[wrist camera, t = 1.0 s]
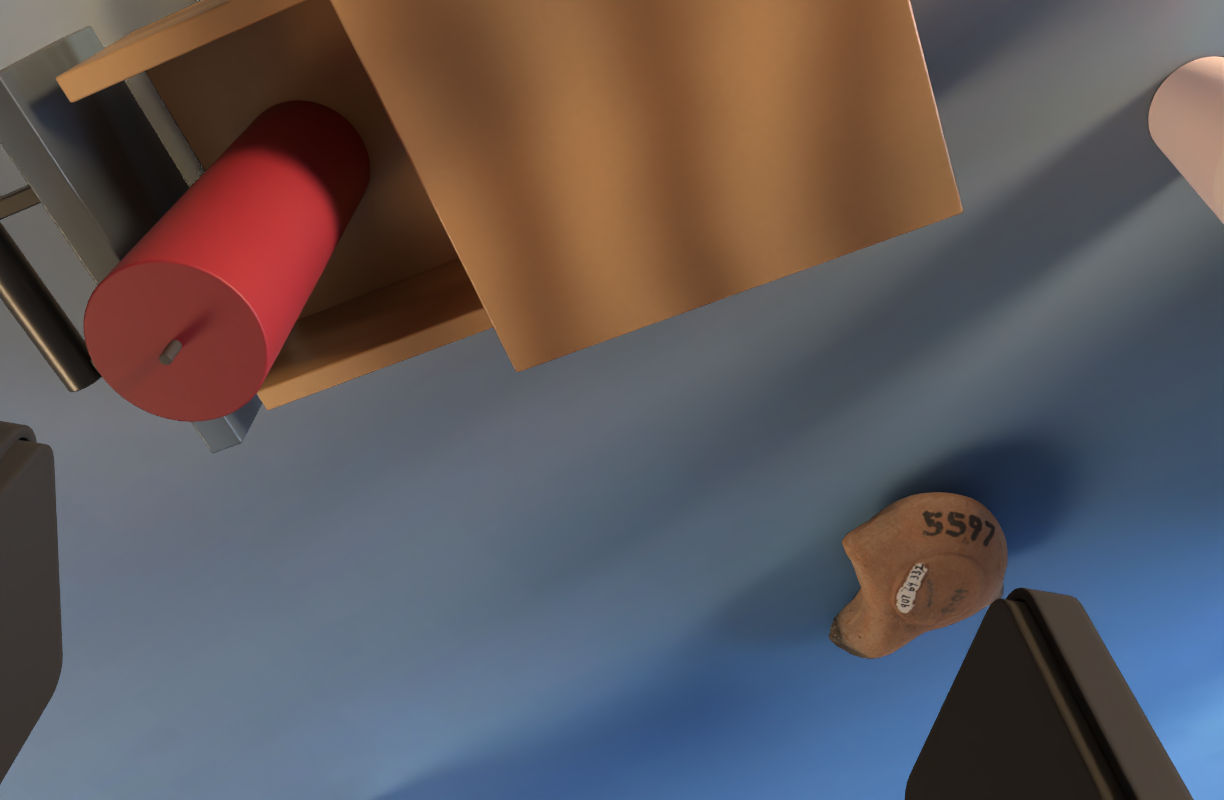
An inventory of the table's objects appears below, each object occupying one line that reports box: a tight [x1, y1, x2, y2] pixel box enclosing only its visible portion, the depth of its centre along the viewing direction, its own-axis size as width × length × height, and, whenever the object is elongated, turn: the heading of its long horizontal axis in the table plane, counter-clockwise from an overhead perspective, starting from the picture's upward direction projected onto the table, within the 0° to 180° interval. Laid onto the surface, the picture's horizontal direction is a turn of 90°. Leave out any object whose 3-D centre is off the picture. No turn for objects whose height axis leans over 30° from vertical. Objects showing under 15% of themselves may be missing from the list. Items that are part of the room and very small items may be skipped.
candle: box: [84, 100, 370, 422], centre depth 33 cm, size 4×4×15 cm
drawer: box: [0, 0, 493, 453], centre depth 38 cm, size 18×13×7 cm
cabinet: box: [330, 0, 963, 372], centre depth 35 cm, size 15×15×9 cm
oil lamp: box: [829, 492, 1007, 659], centre depth 49 cm, size 9×4×8 cm
